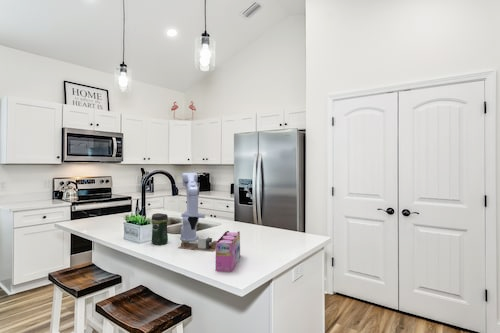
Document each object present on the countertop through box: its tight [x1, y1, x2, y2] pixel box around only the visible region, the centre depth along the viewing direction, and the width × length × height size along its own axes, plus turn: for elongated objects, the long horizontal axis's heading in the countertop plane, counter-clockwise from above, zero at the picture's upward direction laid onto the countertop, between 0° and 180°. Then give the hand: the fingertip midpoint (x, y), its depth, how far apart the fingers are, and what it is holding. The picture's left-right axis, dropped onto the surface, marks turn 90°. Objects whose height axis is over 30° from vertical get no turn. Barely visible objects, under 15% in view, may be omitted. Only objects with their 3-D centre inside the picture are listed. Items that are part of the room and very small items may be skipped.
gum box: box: [215, 230, 241, 273], centre depth 146 cm, size 24×8×14 cm, turn 171°
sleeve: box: [197, 235, 210, 249], centre depth 169 cm, size 5×5×6 cm
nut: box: [206, 237, 213, 249], centre depth 169 cm, size 2×5×5 cm, turn 166°
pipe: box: [181, 240, 213, 246], centre depth 170 cm, size 21×2×2 cm, turn 76°
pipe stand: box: [177, 240, 218, 252], centre depth 170 cm, size 22×9×4 cm, turn 76°
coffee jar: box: [151, 212, 169, 246], centre depth 179 cm, size 10×8×19 cm
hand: (193, 229), depth 172 cm, fingers closed
